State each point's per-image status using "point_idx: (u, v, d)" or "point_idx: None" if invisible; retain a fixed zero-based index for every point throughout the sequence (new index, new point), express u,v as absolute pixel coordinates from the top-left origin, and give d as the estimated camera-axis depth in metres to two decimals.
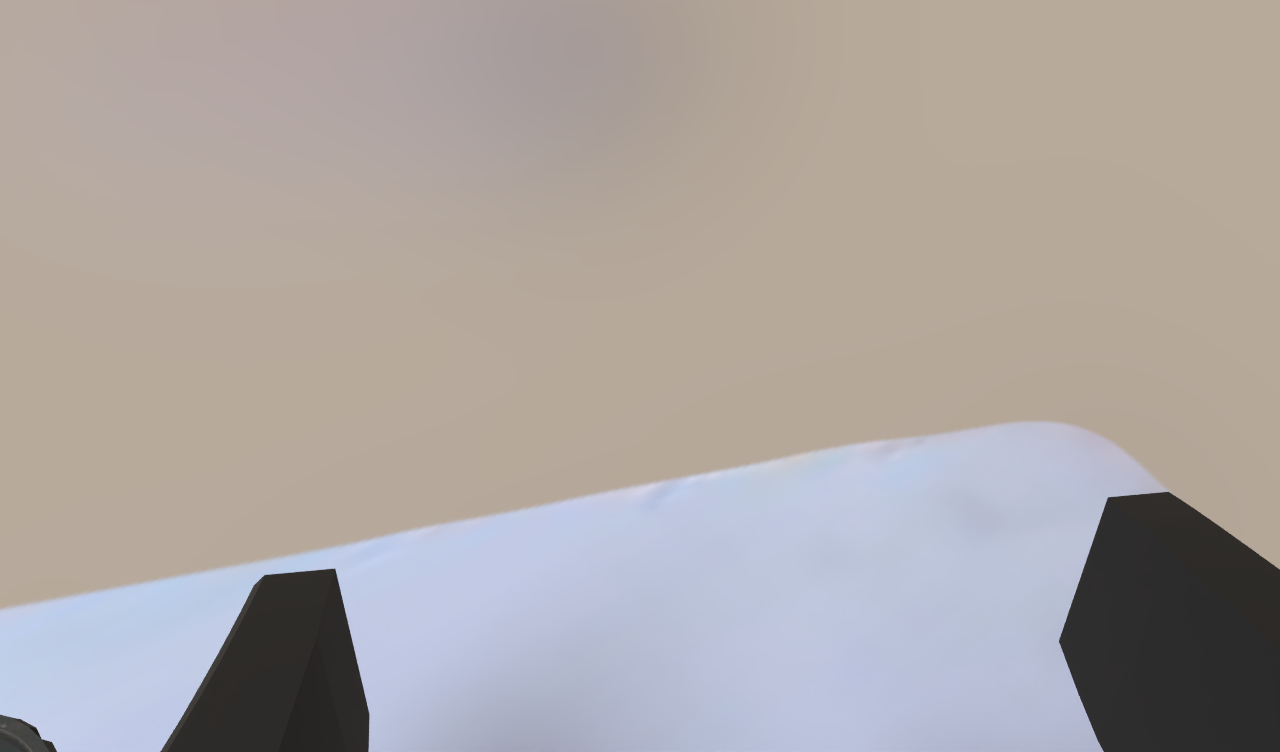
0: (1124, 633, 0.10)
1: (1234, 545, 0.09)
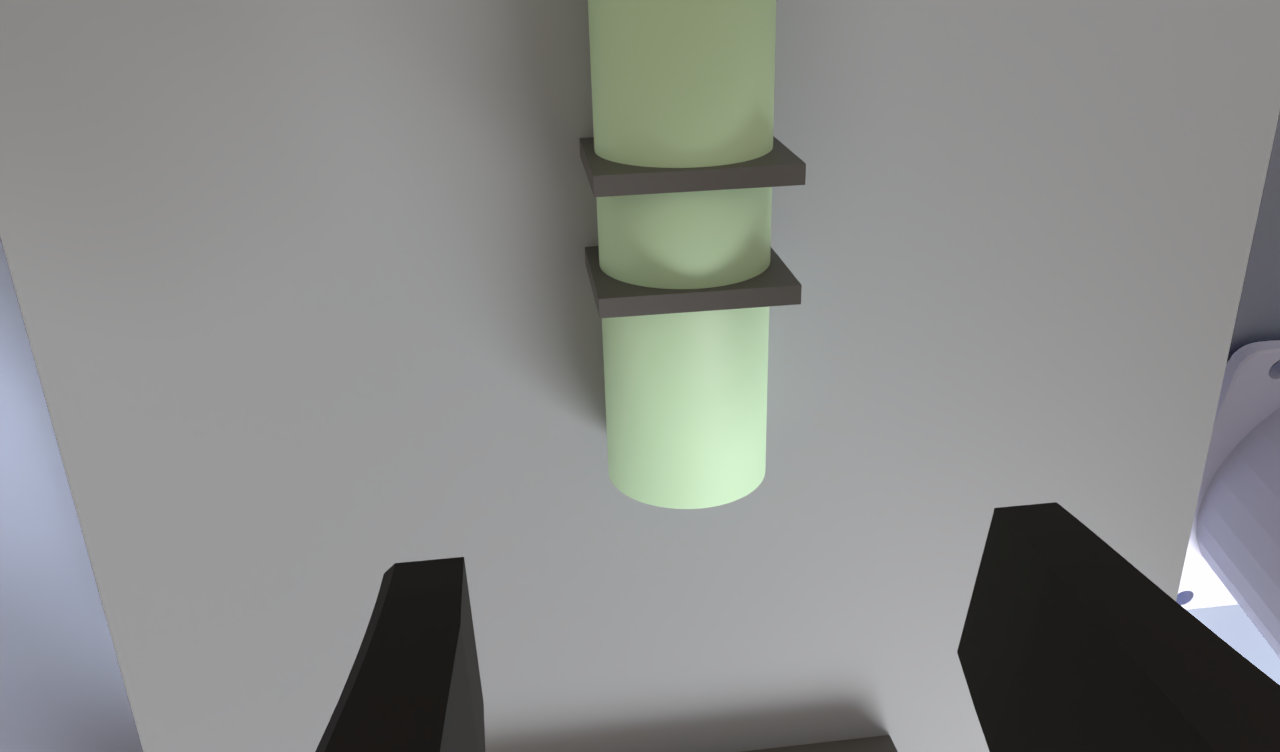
0: (1010, 645, 0.10)
1: (1112, 558, 0.09)
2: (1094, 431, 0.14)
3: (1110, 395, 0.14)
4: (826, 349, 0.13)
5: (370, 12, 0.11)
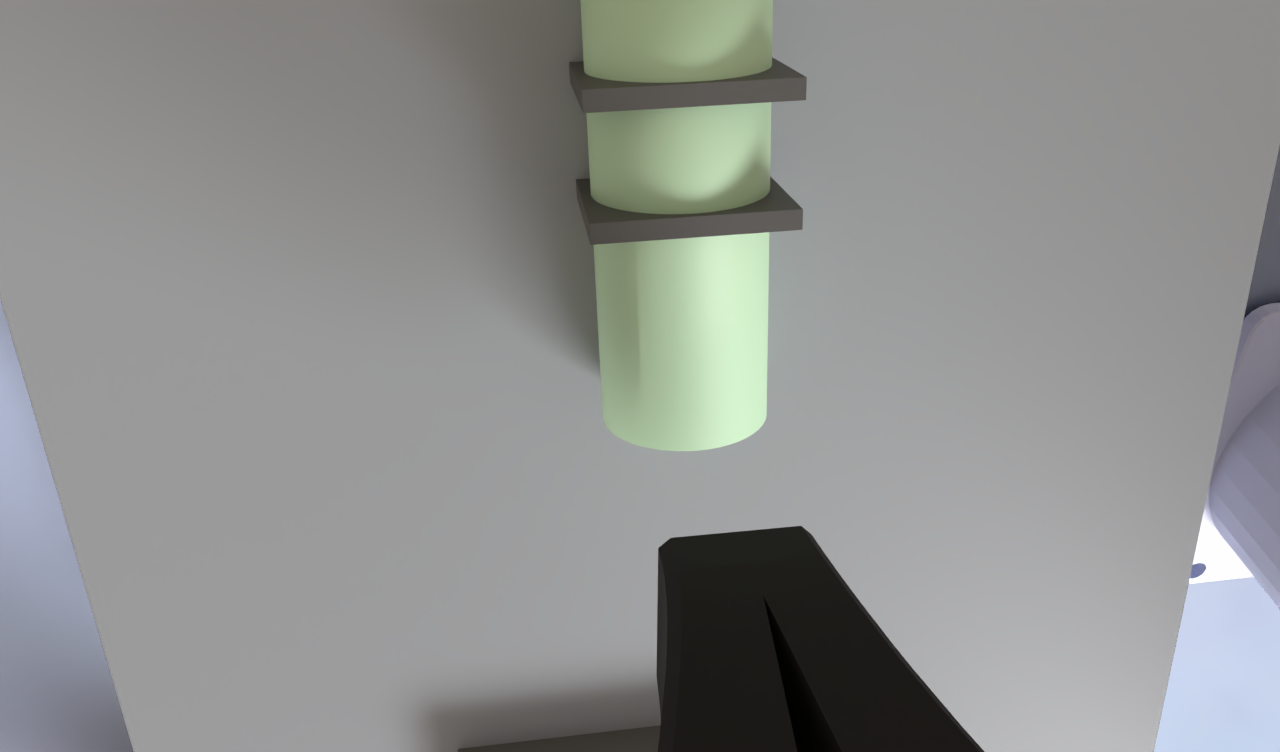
0: None
1: (831, 585, 0.09)
2: (1108, 376, 0.13)
3: (1125, 338, 0.13)
4: (830, 288, 0.12)
5: None
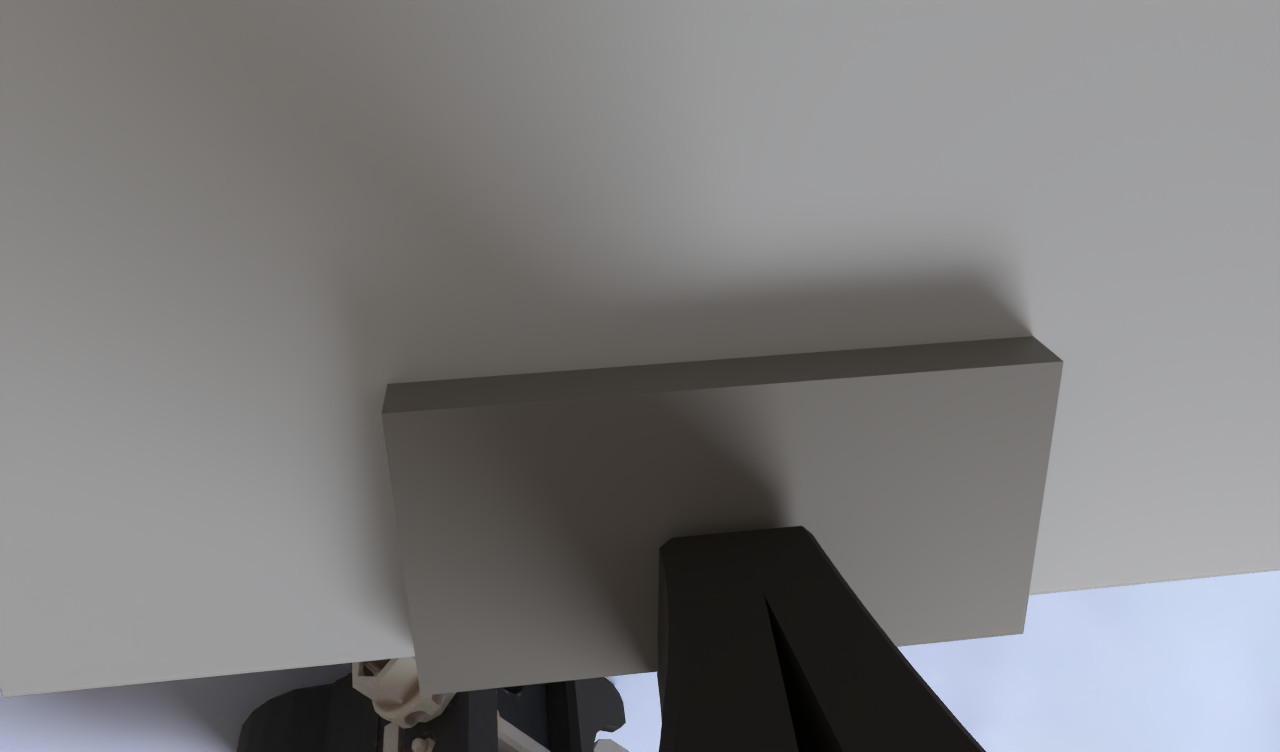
0: None
1: (832, 585, 0.09)
2: None
3: None
4: None
5: None
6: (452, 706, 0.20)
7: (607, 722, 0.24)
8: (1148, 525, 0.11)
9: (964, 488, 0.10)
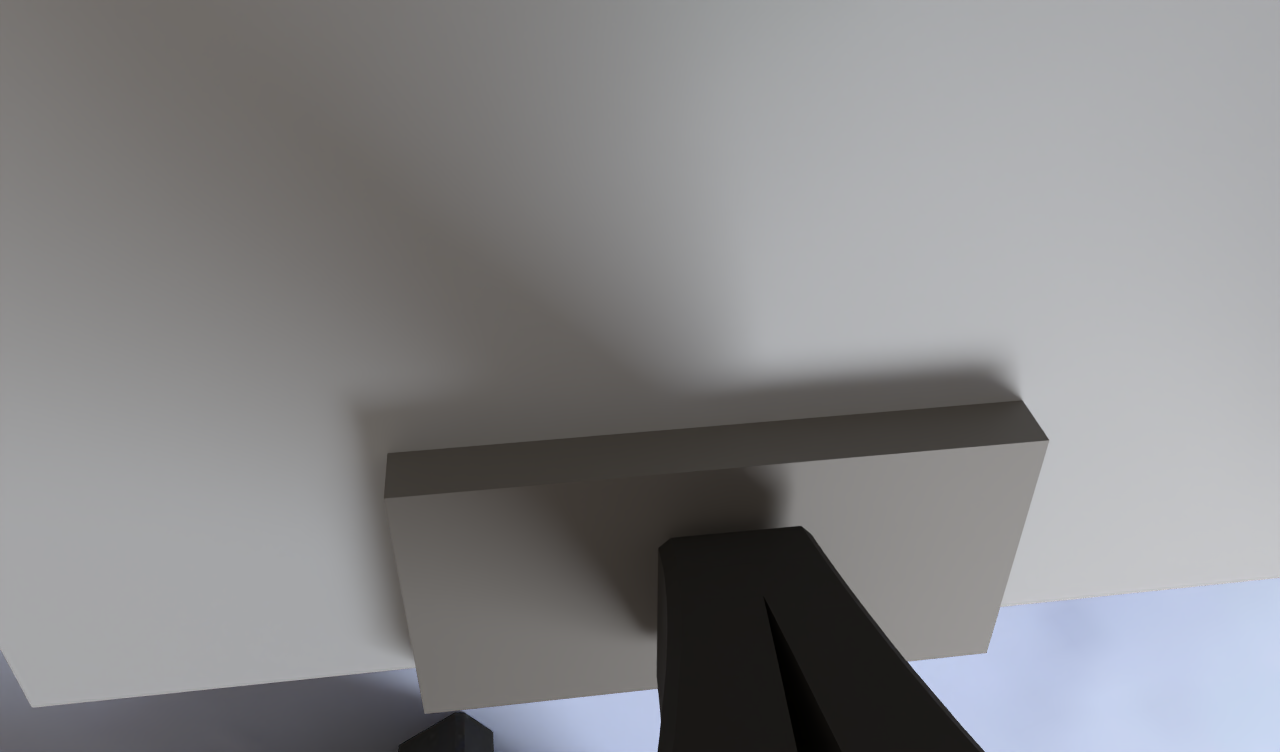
0: None
1: (831, 585, 0.09)
2: None
3: None
4: None
5: None
6: None
7: None
8: (1113, 551, 0.12)
9: (943, 543, 0.11)
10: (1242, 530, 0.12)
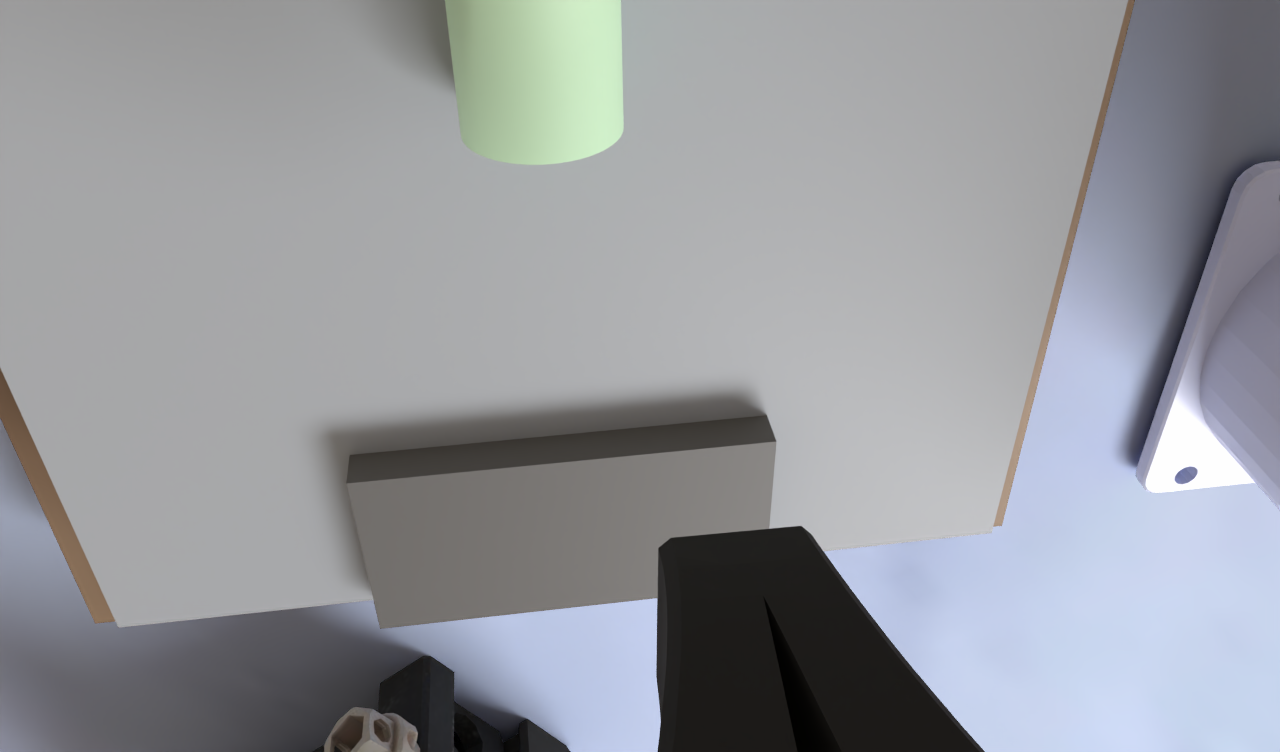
0: None
1: (831, 584, 0.09)
2: (978, 103, 0.13)
3: (996, 63, 0.13)
4: (694, 3, 0.12)
5: None
6: None
7: None
8: (853, 515, 0.17)
9: (718, 510, 0.16)
10: (943, 500, 0.17)
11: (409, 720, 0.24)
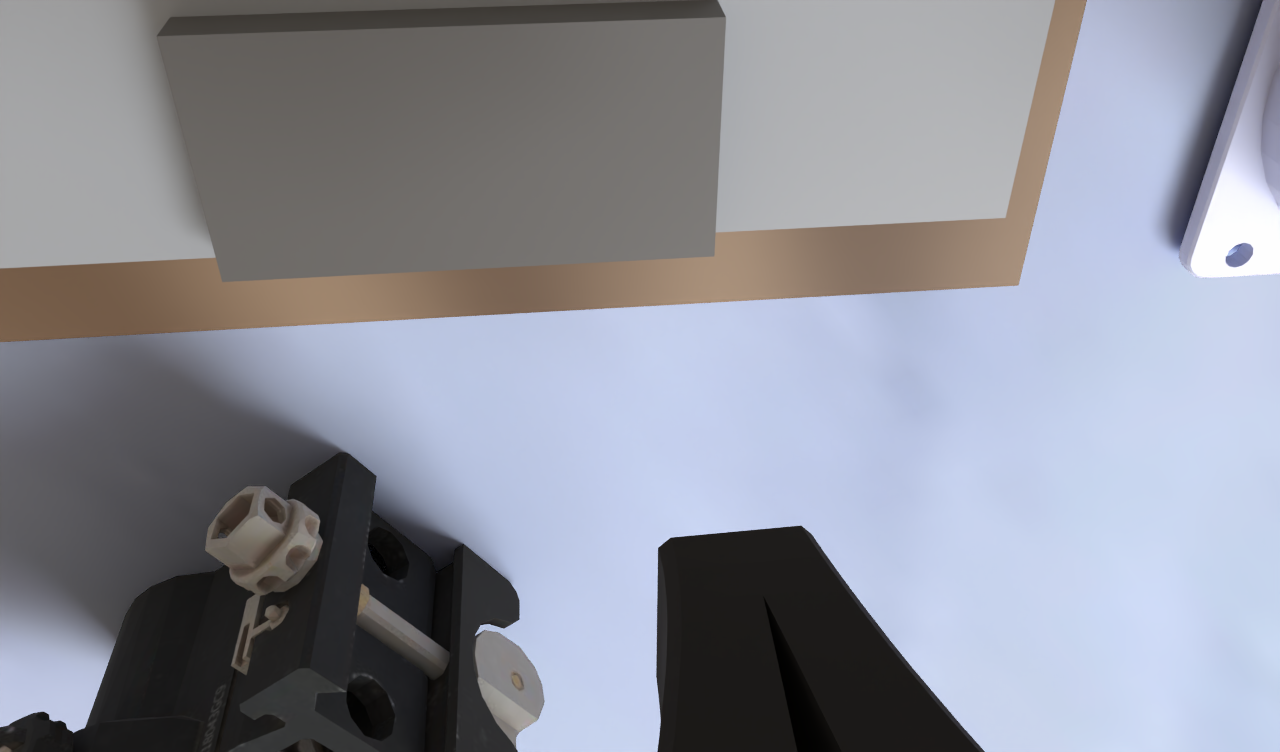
0: None
1: (831, 585, 0.09)
2: None
3: None
4: None
5: None
6: (310, 574, 0.19)
7: (496, 616, 0.23)
8: (830, 175, 0.14)
9: (652, 126, 0.12)
10: (945, 161, 0.14)
11: None
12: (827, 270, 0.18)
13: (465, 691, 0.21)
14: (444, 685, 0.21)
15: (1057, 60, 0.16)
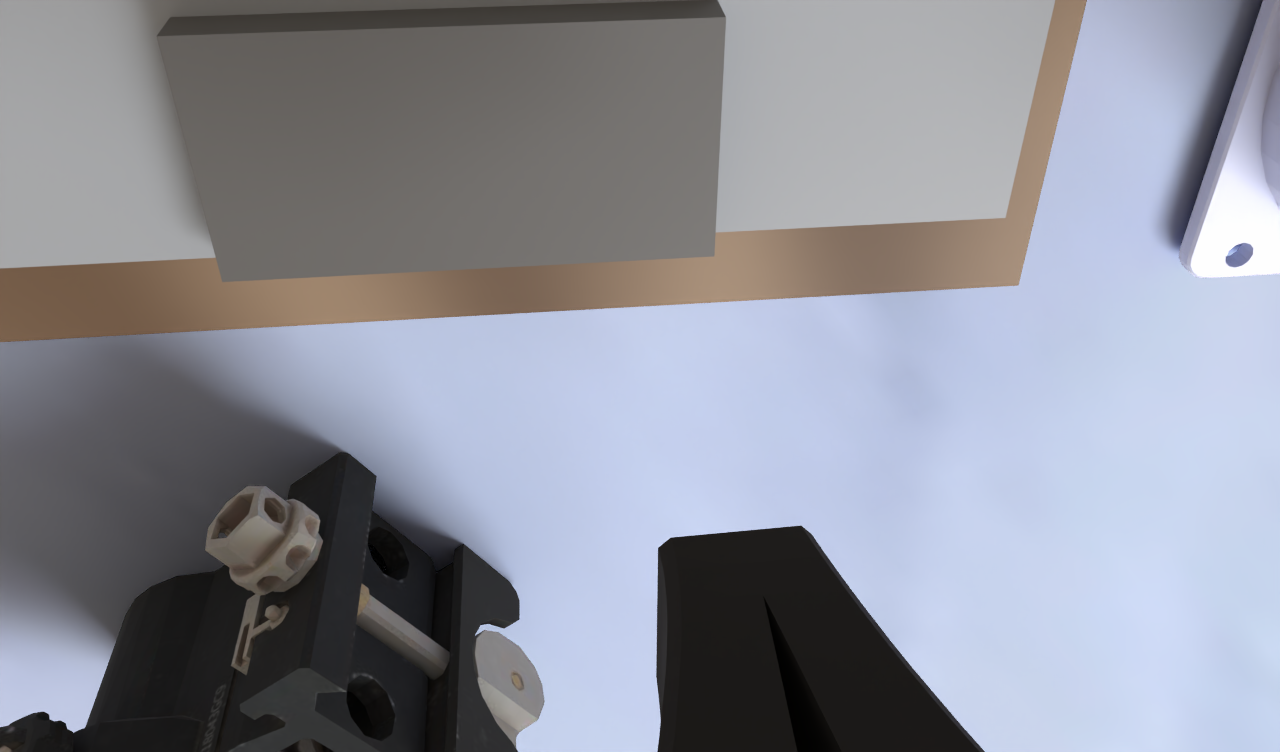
0: None
1: (831, 585, 0.09)
2: None
3: None
4: None
5: None
6: (310, 574, 0.19)
7: (496, 616, 0.23)
8: (830, 175, 0.14)
9: (652, 126, 0.12)
10: (945, 161, 0.14)
11: None
12: (827, 270, 0.18)
13: (465, 691, 0.21)
14: (444, 685, 0.21)
15: (1057, 60, 0.16)
